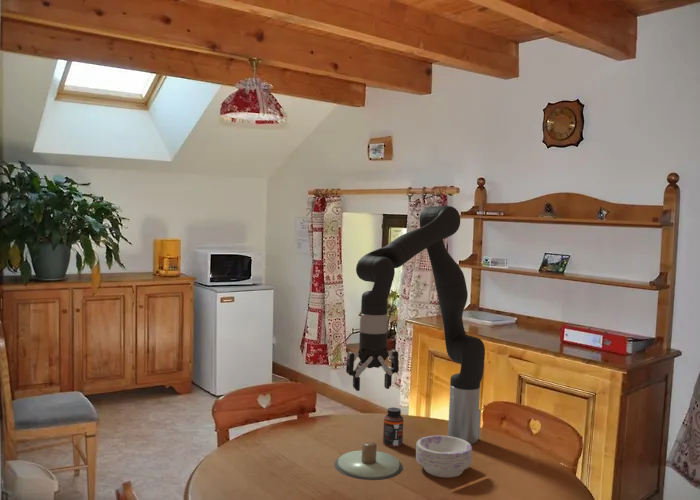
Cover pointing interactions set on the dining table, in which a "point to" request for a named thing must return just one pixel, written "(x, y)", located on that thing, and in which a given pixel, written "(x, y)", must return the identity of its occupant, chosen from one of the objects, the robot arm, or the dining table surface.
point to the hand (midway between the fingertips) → (372, 389)
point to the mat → (369, 478)
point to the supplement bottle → (393, 428)
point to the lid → (368, 462)
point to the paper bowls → (444, 455)
